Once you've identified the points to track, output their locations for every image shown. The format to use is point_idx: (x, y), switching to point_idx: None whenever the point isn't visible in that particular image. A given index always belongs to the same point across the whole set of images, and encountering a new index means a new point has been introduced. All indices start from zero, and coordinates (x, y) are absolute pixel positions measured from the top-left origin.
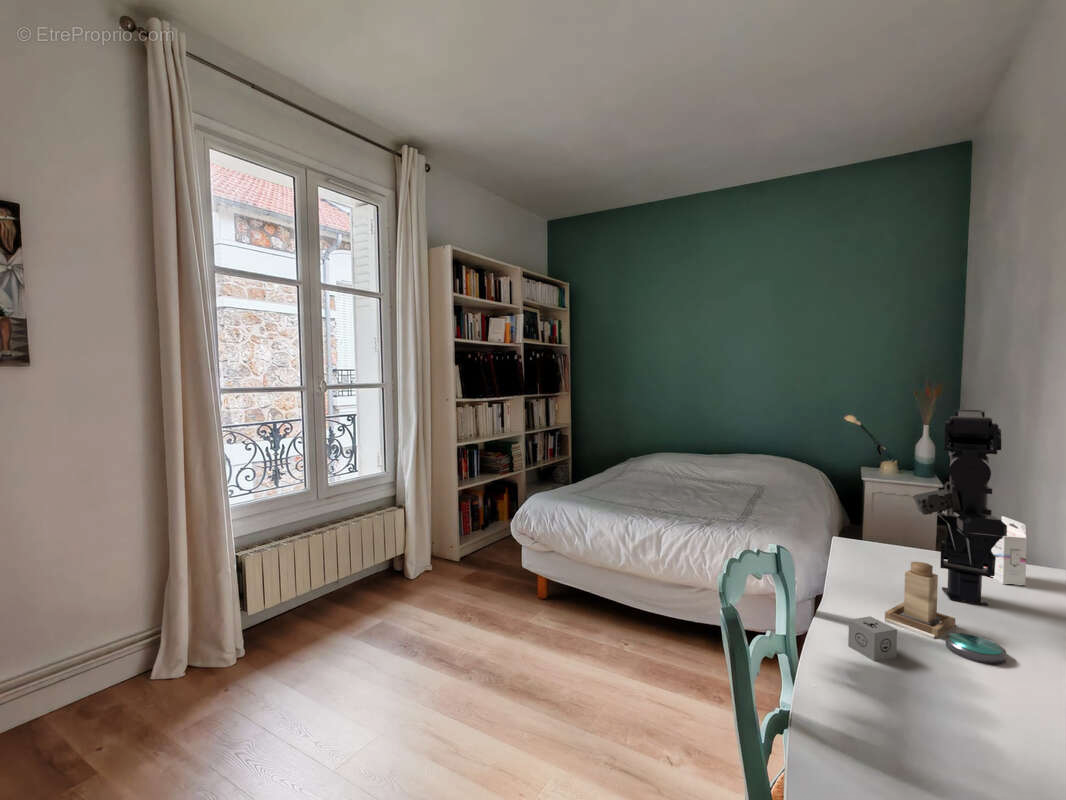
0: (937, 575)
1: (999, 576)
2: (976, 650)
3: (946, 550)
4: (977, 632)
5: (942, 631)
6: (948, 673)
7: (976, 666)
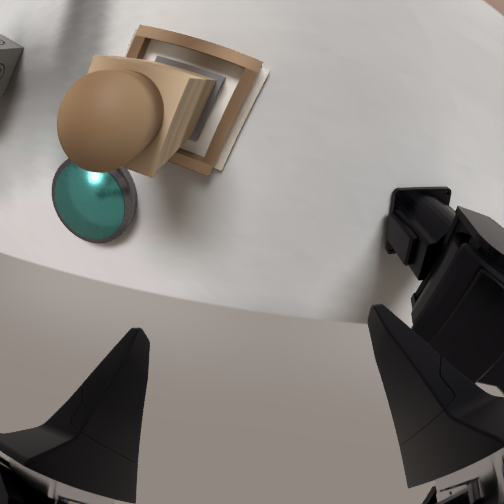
0: (149, 175)
1: None
2: (59, 202)
3: (470, 256)
4: (206, 207)
5: None
6: (6, 162)
7: (48, 193)
